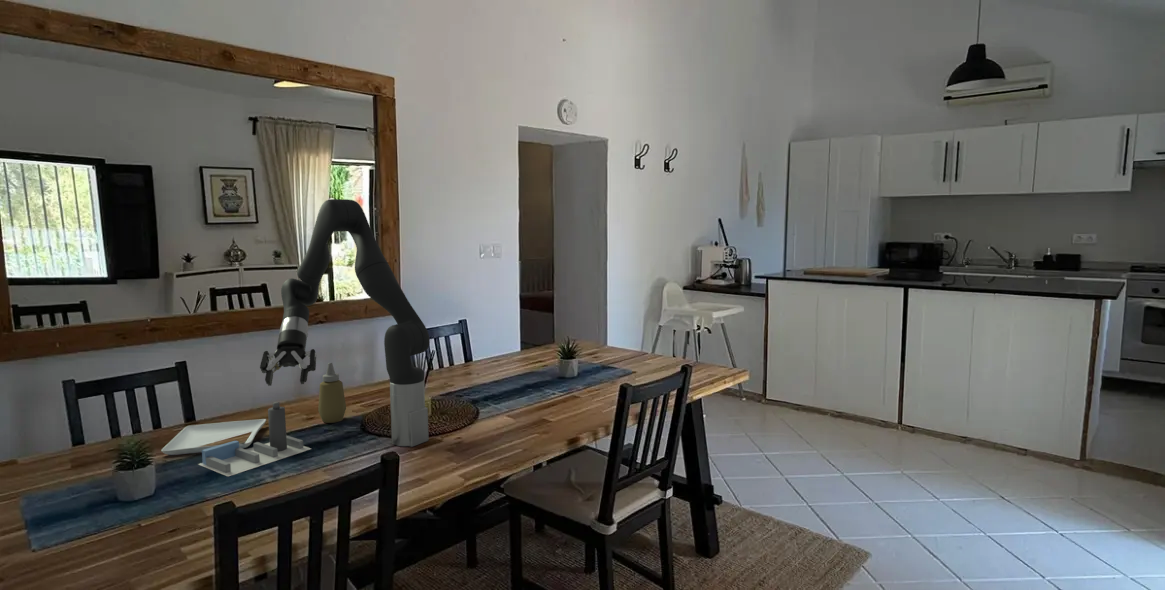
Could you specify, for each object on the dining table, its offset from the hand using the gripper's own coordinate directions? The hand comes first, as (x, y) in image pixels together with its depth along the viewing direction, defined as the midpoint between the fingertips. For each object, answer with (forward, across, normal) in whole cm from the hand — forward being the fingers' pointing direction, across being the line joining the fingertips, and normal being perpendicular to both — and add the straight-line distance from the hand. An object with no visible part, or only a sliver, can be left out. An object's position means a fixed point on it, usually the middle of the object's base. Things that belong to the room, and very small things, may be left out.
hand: (285, 383), depth 177 cm
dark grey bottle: (+18, 0, +3) cm, 18 cm away
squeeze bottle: (+1, +9, +22) cm, 24 cm away
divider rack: (+22, -4, +1) cm, 22 cm away
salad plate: (+11, -18, +12) cm, 25 cm away
